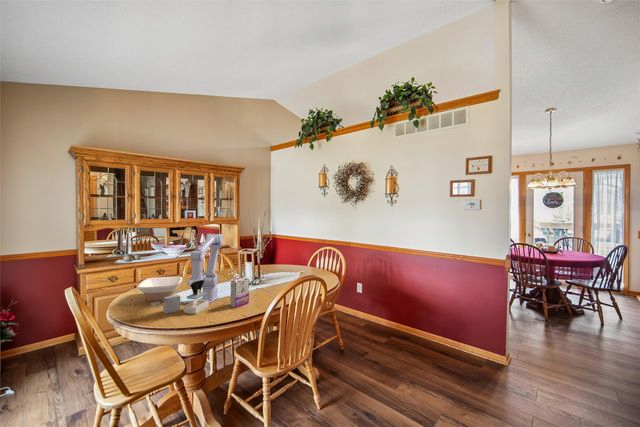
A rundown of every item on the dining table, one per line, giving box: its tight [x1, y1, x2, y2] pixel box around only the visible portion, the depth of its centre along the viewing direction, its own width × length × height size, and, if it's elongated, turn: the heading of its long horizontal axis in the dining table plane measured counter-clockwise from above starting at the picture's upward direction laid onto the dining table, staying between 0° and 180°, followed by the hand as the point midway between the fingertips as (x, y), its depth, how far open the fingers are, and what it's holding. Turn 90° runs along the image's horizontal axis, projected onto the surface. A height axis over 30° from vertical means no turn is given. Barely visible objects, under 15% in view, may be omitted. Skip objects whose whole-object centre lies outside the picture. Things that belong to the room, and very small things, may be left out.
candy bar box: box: [230, 276, 250, 309], centre depth 174 cm, size 11×5×16 cm, turn 149°
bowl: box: [137, 276, 183, 302], centre depth 183 cm, size 24×25×11 cm
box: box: [183, 298, 210, 315], centre depth 164 cm, size 12×8×4 cm, turn 167°
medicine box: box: [162, 294, 181, 315], centre depth 160 cm, size 8×4×9 cm, turn 141°
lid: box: [186, 289, 206, 301], centre depth 163 cm, size 10×6×4 cm, turn 167°
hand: (196, 293), depth 163 cm, fingers closed on lid, 2 cm apart
